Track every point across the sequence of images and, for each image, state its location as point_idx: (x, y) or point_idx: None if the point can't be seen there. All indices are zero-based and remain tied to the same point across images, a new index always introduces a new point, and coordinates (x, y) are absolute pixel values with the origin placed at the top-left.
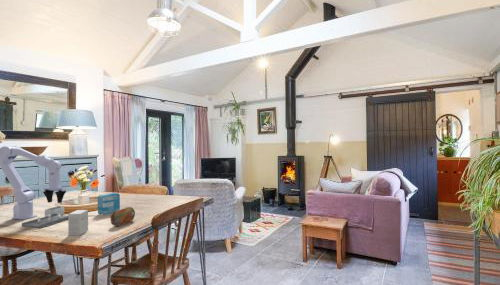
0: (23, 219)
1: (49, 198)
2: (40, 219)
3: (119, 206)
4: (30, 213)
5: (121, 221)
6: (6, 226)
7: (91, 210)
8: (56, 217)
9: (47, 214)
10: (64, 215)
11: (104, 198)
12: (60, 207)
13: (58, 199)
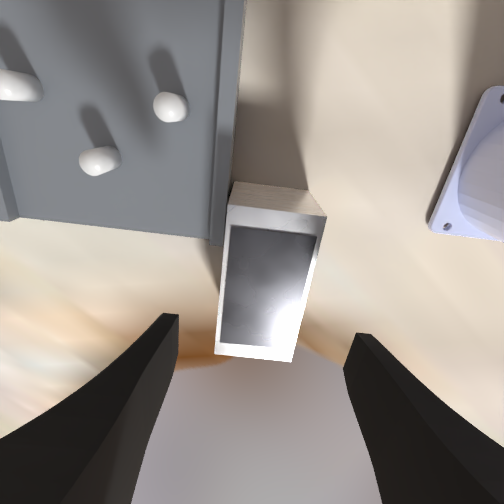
0: (489, 88)
1: (377, 395)
2: (223, 26)
3: None
4: (488, 179)
5: None
6: None
7: None
8: (130, 150)
9: (278, 195)
10: (124, 228)
11: None
12: (221, 320)
13: (129, 348)
